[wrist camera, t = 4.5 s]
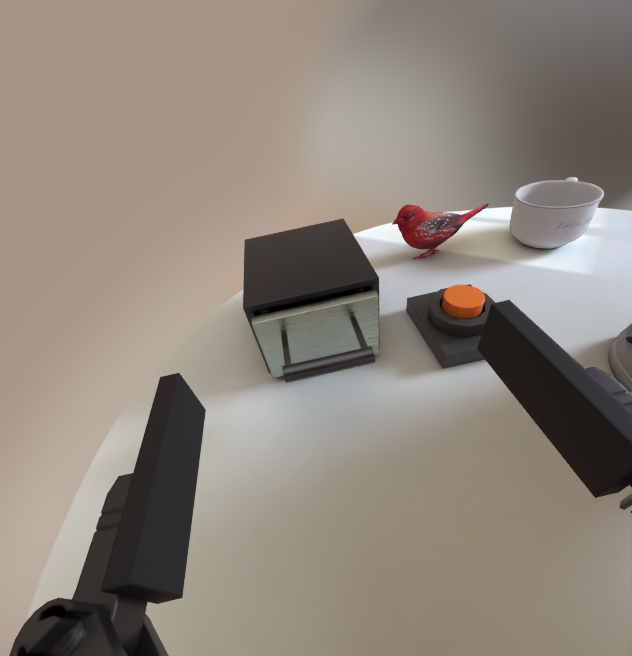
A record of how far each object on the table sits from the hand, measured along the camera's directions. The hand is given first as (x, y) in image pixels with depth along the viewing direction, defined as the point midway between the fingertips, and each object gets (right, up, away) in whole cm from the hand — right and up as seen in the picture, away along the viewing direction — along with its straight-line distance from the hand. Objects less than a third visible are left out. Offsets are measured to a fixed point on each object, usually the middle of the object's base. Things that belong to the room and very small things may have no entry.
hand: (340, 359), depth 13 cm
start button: (+17, +4, +23) cm, 29 cm away
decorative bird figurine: (+20, +14, +39) cm, 46 cm away
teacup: (+38, +17, +38) cm, 56 cm away
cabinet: (-1, +2, +31) cm, 31 cm away
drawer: (-1, 0, +26) cm, 26 cm away
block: (+17, +1, +26) cm, 31 cm away
